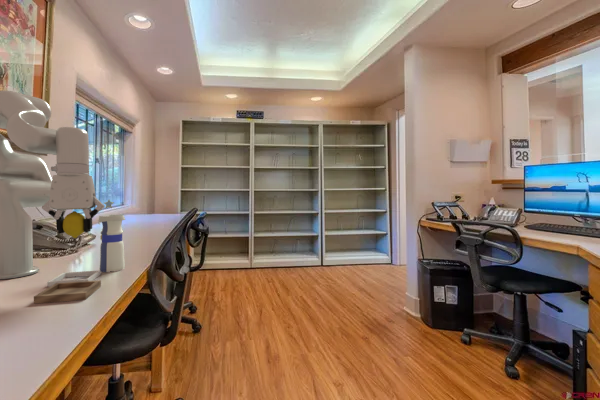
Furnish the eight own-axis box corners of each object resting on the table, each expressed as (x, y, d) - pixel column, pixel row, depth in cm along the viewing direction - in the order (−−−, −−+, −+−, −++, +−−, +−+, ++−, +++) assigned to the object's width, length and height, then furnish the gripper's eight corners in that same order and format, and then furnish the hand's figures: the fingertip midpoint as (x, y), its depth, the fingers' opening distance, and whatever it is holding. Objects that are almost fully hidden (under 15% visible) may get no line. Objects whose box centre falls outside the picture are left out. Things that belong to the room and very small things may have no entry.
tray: (33, 303, 73) (33, 296, 73) (56, 289, 83) (56, 283, 83) (85, 299, 76) (85, 292, 76) (100, 286, 86) (100, 280, 86)
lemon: (74, 239, 83) (73, 211, 83) (57, 239, 84) (57, 211, 84) (91, 237, 88) (90, 210, 88) (75, 236, 89) (75, 210, 89)
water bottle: (91, 271, 102) (90, 199, 101) (113, 265, 110) (113, 199, 109) (109, 273, 100) (109, 200, 99) (130, 267, 108) (130, 199, 107)
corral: (47, 286, 85) (47, 281, 85) (64, 276, 95) (64, 272, 95) (88, 283, 88) (88, 279, 88) (100, 274, 98) (100, 270, 98)
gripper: (29, 169, 79) (31, 235, 80) (103, 170, 85) (104, 232, 85) (44, 171, 86) (45, 232, 87) (111, 172, 92) (112, 229, 92)
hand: (74, 231), depth 86 cm, fingers closed on lemon, 5 cm apart
